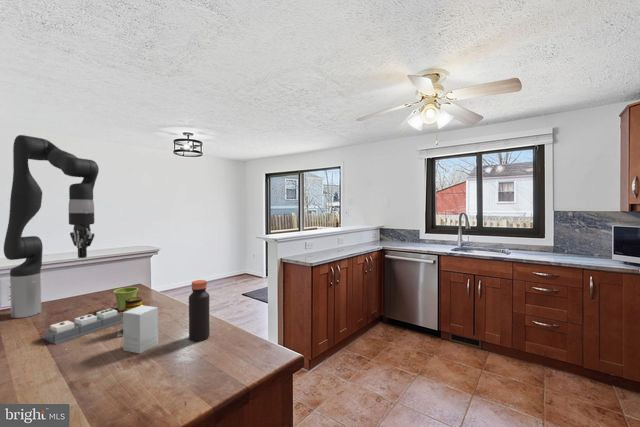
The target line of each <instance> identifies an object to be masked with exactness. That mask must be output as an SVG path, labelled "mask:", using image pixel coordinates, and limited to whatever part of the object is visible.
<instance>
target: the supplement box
mask: <svg viewBox="0 0 640 427" xmlns="http://www.w3.org/2000/svg"><path fill="white" fill-rule="evenodd" d="M122 320H123V323H122V329H123V336H122V337H123V338H122V339H123V341H122V342H123V344H122V345H123V351H126V352H130V353H135V354H139V355H140V354H142V353H145V352H146V351H149V350H150V349H153V347H156V346H158V345H159V307H156V306H149V305H144V304H142V306H139V307H136V308H133V309H131V310H128V311H125V312H124V311H123V312H122Z"/></svg>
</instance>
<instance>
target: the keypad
mask: <svg viewBox="0 0 640 427" xmlns="http://www.w3.org/2000/svg"><path fill="white" fill-rule="evenodd" d="M95 316H97V314H96V315H95ZM72 322H73V323H74V328H72V329H69V330H66V331H62V332H59V333H54V332H52V331H50V328H48V329H45V330H44V335H43V336H42V337H41V338H42V339H43V340H46V341H47V342H49V343H51V344H54V345H60V344H62V343H65V342H67V341H70V340H74V339H76V338H80V337H82V336H85V335H89V334H92V333H94V332H95V333H96V332H98V331H101V330H103V329H106V328H108V329H109V328H110V327H113V326H116V325H120V324H123V313H119V312H117V315H115V316H112V317H109V318H105V319H101V318H98V317H97V321H95V322H92V323H89V324H85V325H82V326H80V325H77V324H75V321H72Z"/></svg>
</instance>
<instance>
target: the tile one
mask: <svg viewBox="0 0 640 427" xmlns="http://www.w3.org/2000/svg"><path fill="white" fill-rule="evenodd" d="M73 322H74V321H71V320H64V321H61V322H58V323H57V322H56V323H54V324H51V325H49V329H50V331H52V332H54V333H59V332H62V331H66V330H69V329H72V328H74V323H73Z"/></svg>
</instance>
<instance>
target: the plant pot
mask: <svg viewBox="0 0 640 427" xmlns="http://www.w3.org/2000/svg"><path fill="white" fill-rule="evenodd" d="M138 291H139V288H138V287H135V286H133V287H132V286H130V287H129V286H128V287H127V286H126V287H121V288H117V289H114V290H113V294H114V297H115V299H116V306H117V311H119V312H121V311H124V308H125V304H126V303H125V301H126V300H127V299H129V298H133V297H137V293H138Z"/></svg>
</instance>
